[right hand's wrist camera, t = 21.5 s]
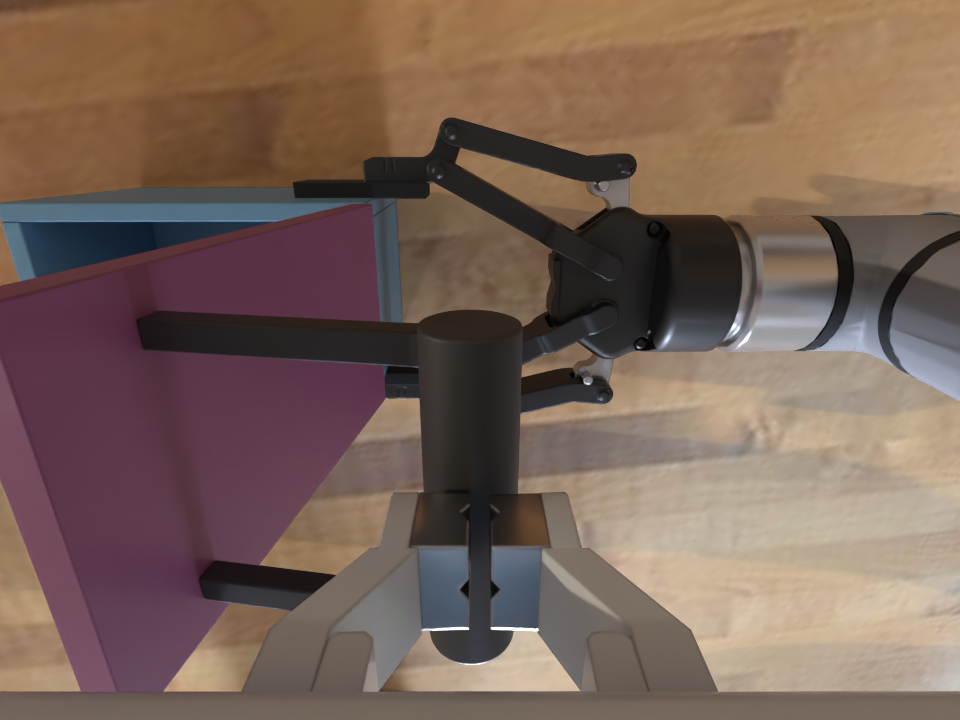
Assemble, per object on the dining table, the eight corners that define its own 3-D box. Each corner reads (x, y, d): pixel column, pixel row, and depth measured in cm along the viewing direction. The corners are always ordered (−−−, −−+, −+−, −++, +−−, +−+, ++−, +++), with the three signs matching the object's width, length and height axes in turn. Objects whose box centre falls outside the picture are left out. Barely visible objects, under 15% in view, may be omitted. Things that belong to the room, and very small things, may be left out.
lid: (92, 726, 12) (495, 799, 10) (-70, 301, 8) (504, 330, 7) (367, 397, 27) (542, 409, 26) (351, 203, 24) (552, 206, 22)
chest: (169, 328, 38) (55, 396, 27) (138, 187, 34) (-7, 203, 24) (402, 327, 38) (378, 393, 27) (395, 187, 35) (364, 202, 24)
